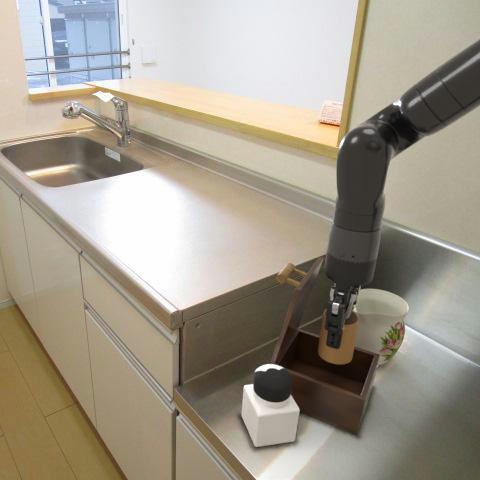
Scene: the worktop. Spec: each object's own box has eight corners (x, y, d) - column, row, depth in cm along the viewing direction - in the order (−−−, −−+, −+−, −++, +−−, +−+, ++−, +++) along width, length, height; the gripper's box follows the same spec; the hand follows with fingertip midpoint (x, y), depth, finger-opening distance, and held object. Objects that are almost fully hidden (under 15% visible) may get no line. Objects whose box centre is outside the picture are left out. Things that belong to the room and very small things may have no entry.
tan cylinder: (357, 352, 80) (364, 314, 77) (344, 369, 76) (351, 329, 73) (325, 339, 84) (331, 302, 81) (312, 355, 80) (317, 317, 77)
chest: (372, 387, 86) (380, 354, 83) (356, 435, 76) (364, 400, 72) (292, 358, 94) (296, 327, 91) (268, 399, 84) (271, 365, 80)
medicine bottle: (296, 442, 75) (304, 385, 70) (254, 448, 74) (260, 391, 69) (278, 410, 81) (285, 356, 76) (240, 415, 80) (245, 361, 75)
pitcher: (421, 352, 95) (436, 296, 89) (367, 385, 86) (380, 325, 81) (374, 327, 104) (386, 274, 98) (321, 354, 95) (330, 298, 89)
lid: (323, 258, 82) (296, 247, 84) (300, 290, 72) (270, 277, 74) (298, 326, 90) (274, 315, 93) (274, 365, 80) (247, 351, 82)
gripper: (368, 274, 64) (350, 367, 71) (385, 239, 75) (368, 323, 82) (315, 262, 68) (303, 352, 75) (338, 230, 79) (326, 311, 86)
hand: (337, 336), depth 79 cm, fingers closed on tan cylinder, 5 cm apart
